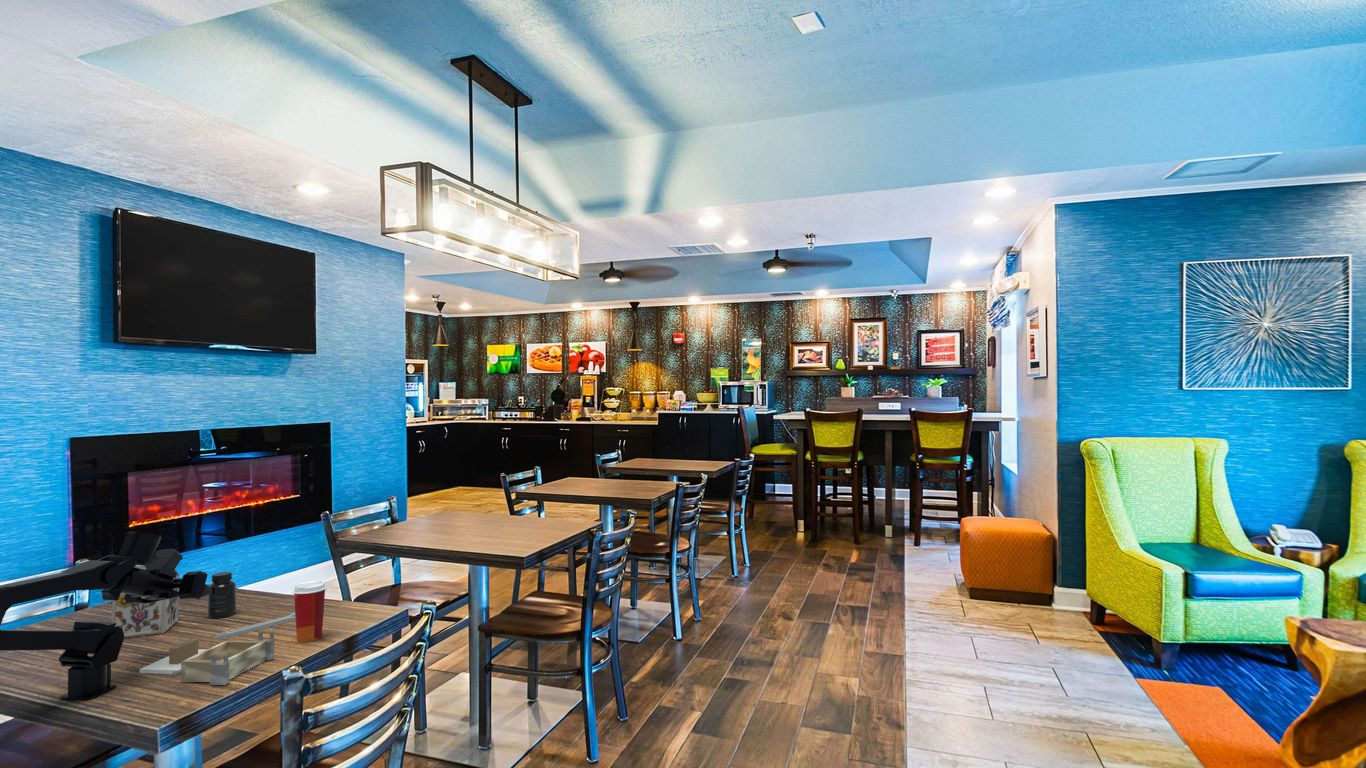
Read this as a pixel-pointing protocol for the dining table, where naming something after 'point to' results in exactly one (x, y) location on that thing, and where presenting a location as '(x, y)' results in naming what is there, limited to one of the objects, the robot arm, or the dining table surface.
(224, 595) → the supplement bottle
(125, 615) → the decorative jar
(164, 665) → the cabinet door
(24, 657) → the dining table surface
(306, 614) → the paper cup
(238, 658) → the cabinet
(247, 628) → the adjustable wrench
